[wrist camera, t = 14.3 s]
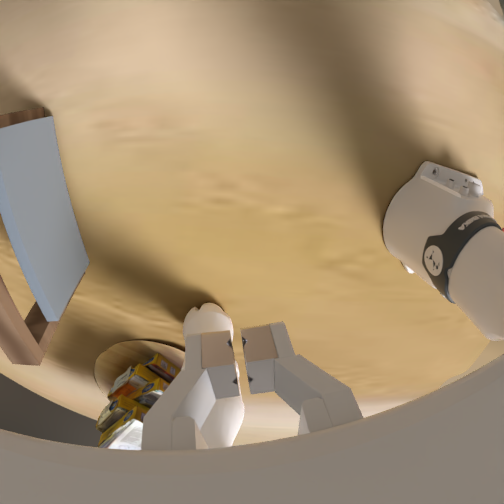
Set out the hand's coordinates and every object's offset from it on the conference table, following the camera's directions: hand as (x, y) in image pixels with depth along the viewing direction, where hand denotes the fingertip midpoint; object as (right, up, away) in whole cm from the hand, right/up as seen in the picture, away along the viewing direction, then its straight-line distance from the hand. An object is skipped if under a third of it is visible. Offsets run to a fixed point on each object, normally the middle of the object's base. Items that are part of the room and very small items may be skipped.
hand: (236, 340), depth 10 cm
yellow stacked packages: (-18, -22, +41) cm, 50 cm away
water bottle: (-6, -6, +34) cm, 35 cm away
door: (-23, +10, +21) cm, 32 cm away
